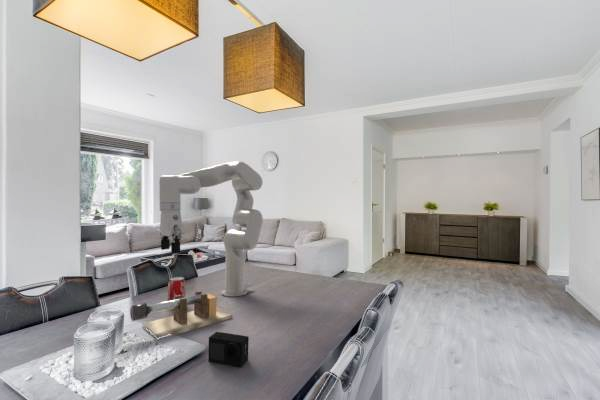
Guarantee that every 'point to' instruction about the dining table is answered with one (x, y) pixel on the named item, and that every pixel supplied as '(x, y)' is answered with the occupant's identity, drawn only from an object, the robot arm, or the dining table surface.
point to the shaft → (159, 307)
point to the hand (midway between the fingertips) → (170, 250)
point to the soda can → (176, 288)
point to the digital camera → (228, 349)
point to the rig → (186, 318)
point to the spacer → (211, 305)
